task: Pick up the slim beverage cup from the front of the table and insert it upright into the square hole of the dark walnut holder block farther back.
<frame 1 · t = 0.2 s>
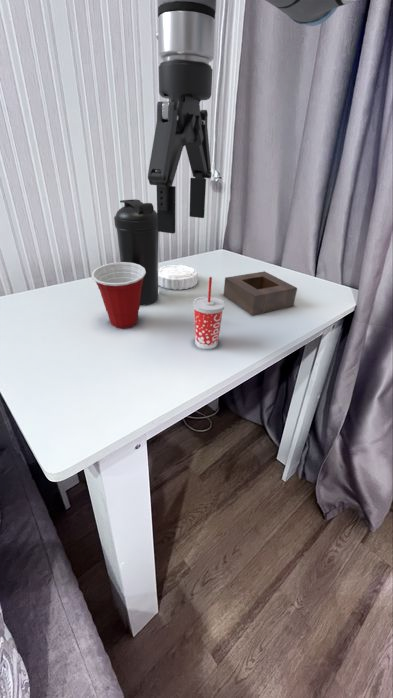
hand: (183, 224, 57), 23 cm above the table, tool pointing down, fingers open, 13 cm apart
beverage cup: (206, 343, 68), on the table
plastic cup: (123, 323, 74), on the table
holder: (257, 300, 87), on the table
water bottle: (141, 299, 85), on the table
mooncake: (176, 282, 96), on the table
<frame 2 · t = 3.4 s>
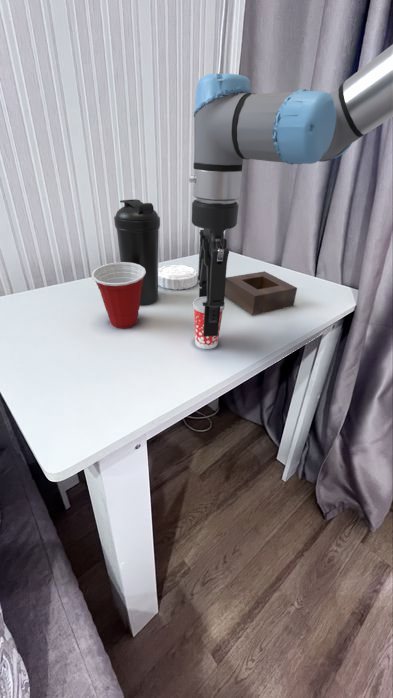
hand: (207, 326, 65), 4 cm above the table, tool pointing down, fingers closed on beverage cup, 6 cm apart
beverage cup: (206, 343, 68), on the table, touching gripper
everything else where it was.
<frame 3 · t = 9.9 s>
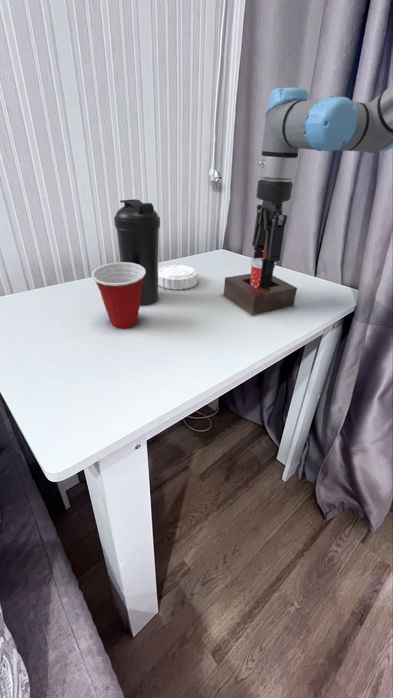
hand: (260, 281, 84), 5 cm above the table, tool pointing down, fingers closed on beverage cup, 6 cm apart
beverage cup: (258, 296, 86), point 1 cm above the table, touching gripper
everything else where it was.
when the fingers open (6 cm above the table, at t = 16.2 s): beverage cup stays where it is, resting in holder.
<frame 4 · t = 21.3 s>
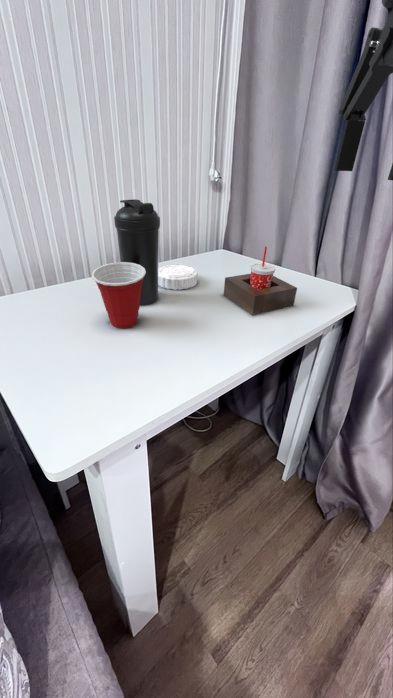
hand: (367, 175, 47), 32 cm above the table, tool pointing down, fingers open, 13 cm apart
beverage cup: (257, 301, 87), resting in holder
everything else where it was.
at the end: beverage cup 0.1 cm off-centre in the holder, point 0.0 cm above the holder's base; beverage cup tilted 0°; the gripper is holding nothing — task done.
